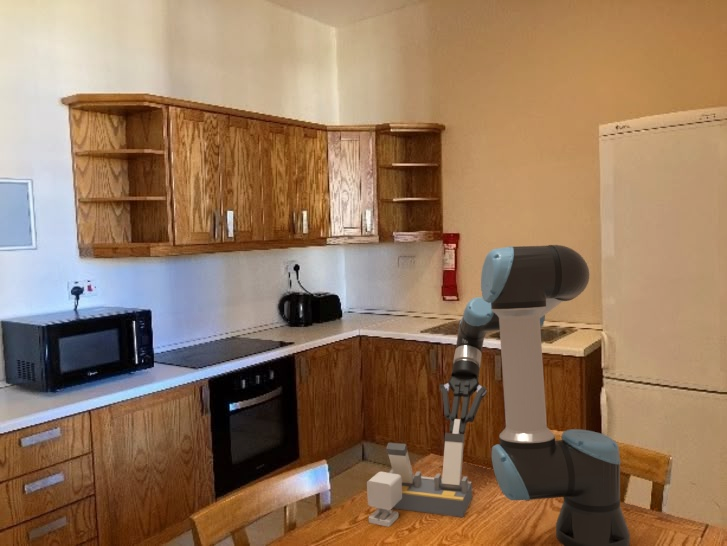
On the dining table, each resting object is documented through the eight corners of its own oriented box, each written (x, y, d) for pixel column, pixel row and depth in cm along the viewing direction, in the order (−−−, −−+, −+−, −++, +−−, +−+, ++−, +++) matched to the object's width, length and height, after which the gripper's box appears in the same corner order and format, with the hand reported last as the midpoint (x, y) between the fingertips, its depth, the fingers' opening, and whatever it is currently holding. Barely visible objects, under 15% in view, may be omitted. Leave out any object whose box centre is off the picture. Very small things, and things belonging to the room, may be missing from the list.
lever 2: (462, 490, 155) (465, 435, 160) (460, 489, 154) (464, 434, 158) (441, 487, 157) (445, 433, 162) (439, 487, 155) (443, 432, 160)
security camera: (403, 514, 152) (401, 474, 152) (390, 527, 146) (388, 485, 145) (379, 509, 155) (378, 470, 155) (366, 522, 149) (364, 481, 148)
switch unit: (472, 497, 160) (471, 470, 159) (463, 517, 149) (462, 488, 149) (397, 488, 167) (396, 462, 166) (384, 507, 157) (382, 479, 156)
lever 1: (416, 480, 160) (407, 444, 153) (414, 486, 159) (405, 450, 152) (396, 478, 162) (387, 442, 155) (394, 484, 160) (384, 448, 154)
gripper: (491, 373, 176) (482, 453, 162) (446, 371, 180) (433, 448, 166) (487, 359, 170) (477, 440, 156) (441, 357, 175) (427, 436, 161)
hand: (455, 444), depth 161 cm, fingers closed
